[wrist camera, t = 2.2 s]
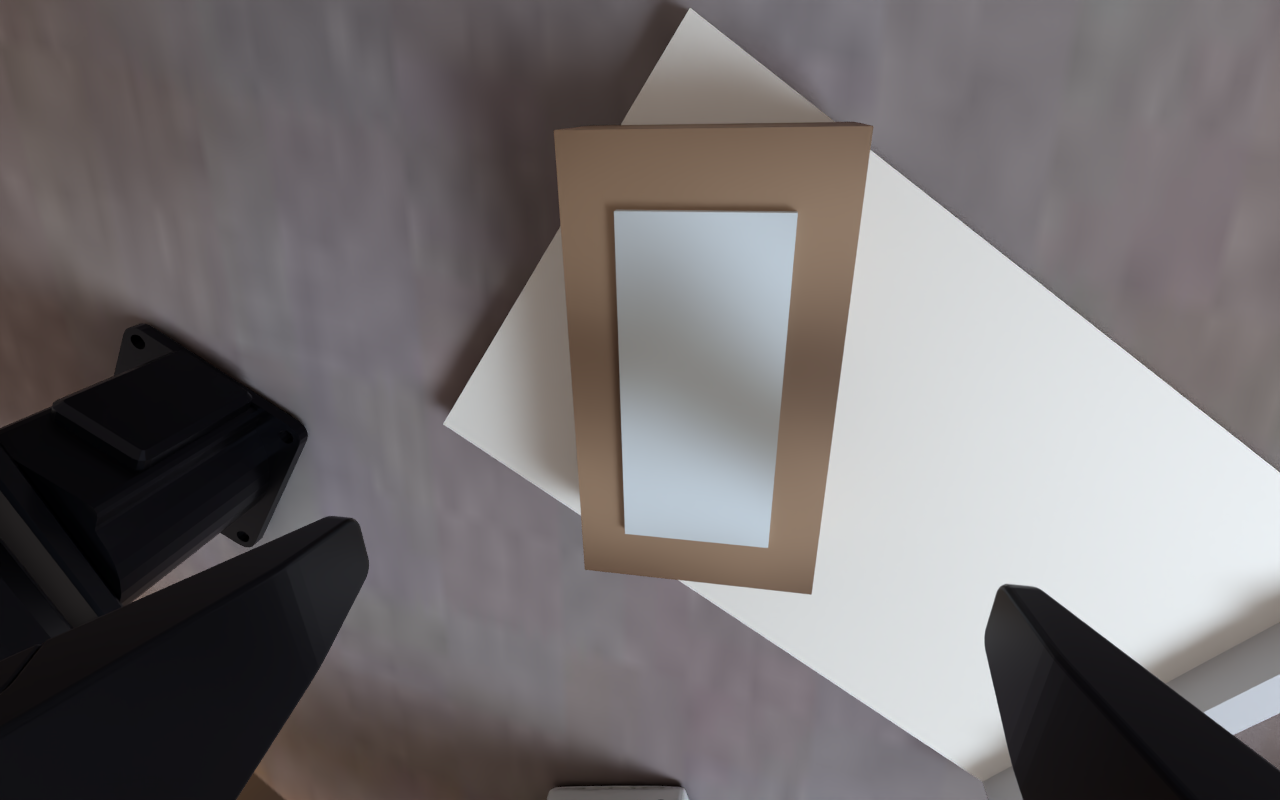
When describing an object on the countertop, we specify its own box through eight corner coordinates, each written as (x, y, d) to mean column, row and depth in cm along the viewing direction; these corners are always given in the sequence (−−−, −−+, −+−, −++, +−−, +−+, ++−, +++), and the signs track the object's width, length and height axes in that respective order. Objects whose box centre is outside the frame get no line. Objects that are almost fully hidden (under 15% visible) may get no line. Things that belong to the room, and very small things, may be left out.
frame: (805, 528, 18) (811, 600, 16) (607, 509, 19) (582, 574, 17) (853, 121, 14) (874, 126, 11) (589, 125, 15) (550, 130, 12)
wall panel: (1017, 788, 22) (1044, 863, 20) (454, 412, 20) (415, 451, 18) (1416, 581, 17) (1517, 656, 14) (693, 12, 14) (680, -5, 12)
